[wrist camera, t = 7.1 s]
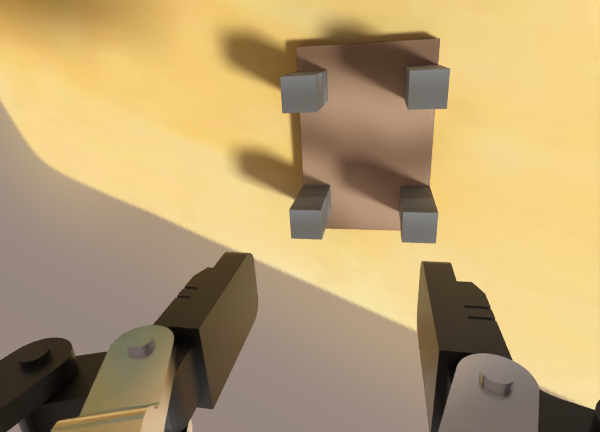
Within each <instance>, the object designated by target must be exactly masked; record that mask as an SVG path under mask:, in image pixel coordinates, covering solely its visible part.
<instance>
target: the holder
mask: <svg viewBox="0 0 600 432" xmlns="http://www.w3.org/2000/svg"><path fill="white" fill-rule="evenodd" d="M439 47H440V38H438V39H422V40H405V41H389V42H372V43H356V44H340V45H323V46H307V47H296V53H297V72H294V73H291V74H287V75H284V76H281V77H280V84H281V98H282V112H283V113H300V127H301V145H302V164H303V182H304V185H303V187H302V189H301V191H300V192H299V194H298V196H297V198H296V199H295V201H294V203H293V204H292V206H291V208H290V210H289V212H290V226H291V238H294V239H322V237H323V234H324V231H325V228H329V229H364V230H398V231H401V238H402V242H411V243H436V233H437V221H438V211H437V208H436V205H435V201H434V198H433V195H432V192H431V189H430V173H431V159H432V145H433V131H434V117H435V109H447V99H448V87H449V75H450V69H449V68H446V67H444V66H441V65H438V61H439Z"/></svg>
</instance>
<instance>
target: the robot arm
mask: <svg viewBox="0 0 600 432" xmlns="http://www.w3.org/2000/svg"><path fill="white" fill-rule="evenodd" d="M257 309H258V294H257V285H256V275H255V266H254V258H253V255H252V254H251V253H238V252H226V253H224V254H223V256H222V257H221V258H220V260H219V261H218V262H217V264H216V265H215V266H214V267H213V268H206V269H204V270H203V271H201V272H200V273H198V274H196V275H195V276H193V277H192V279H191V280H190V281H189V282H188V283H187V285H186V286H185V289H182V291H181V292H180V293H179V294H178V296H177V298H175V299H174V300H173V301H172V303H171V304H170V305H169V306H168V308H167V309H166V310H165V311H164V312H163V314H162V315H161V316H160V317H159V318H158V320H157V321H156V322H155V323H154V324H153V325H148V326H142V327H139V328H135V329H133V330H130V331H128V332H126V333H124V334H123V335H121V336H120V337H119V338H117V339H116V340H115V341H114V342H113V343H112V344H111V346H110V348H109V349H108V351H107V352H102V353H95V354H87V355H81V356H75V354H74V351H73V348H72V345H71V343H70V342H69V341H68V340H66V339H63V338H46V339H42V340H38V341H35V342H32V343H30V344H27V345H26V346H23V347H21V348H19V349H18V350H16V351H14V352H13V353H11V354H10V355H8V356H6V357H5V358H3V359H2V360H0V432H7V431H8V430H9V429H11V428H12V427H13V426H15V425H16V424H17V423H18V424H19V426H20V429H21V431H22V432H192V430H193V429H192V428H193V427H192V422H191V417H192V415H193V413H194V411H195V409H196V408H197V407H199V408H207V409H213V408H214V406H215V404H216V402H217V400H218V398H219V396H220V394H221V391H222V389H223V387H224V385H225V383H226V381H227V378H228V377H229V374H230V372H231V370H232V368H233V366H234V364H235V362H236V360H237V357H238V355H239V353H240V351H241V349H242V347H243V344H244V342H245V340H246V338H247V336H248V334H249V332H250V330H251V328H252V325H253V323H254V321H255V319H256V315H257ZM417 332H418V341H419V349H420V357H421V365H422V373H423V382H424V390H425V398H426V407H427V415H428V423H429V431H430V432H600V400H599V401H598V403H597V405H596V408H595V410H593V409H590V408H587V407H584V406H581V405H578V404H575V403H571V402H568V401H565V400H562V399H559V398H557V397H554V396H552V395H549V394H547V393H545V392H543V391H542V390H540V389H539V387H538V384H537V382H536V380H535V379H534V377H533V376H532V375H531V374H530V373H529V372H528V371H527V370H526V369H525V368H524V367H522V366H521V365H519V364H518V363H516V362H514V361H513V360H512V358H511V355H510V353H509V351H508V348H507V346H506V343H505V341H504V338H503V336H502V334H501V331H500V329H499V326H498V324H497V322H496V321H495V317H494V314H493V312H492V310H491V309H490V305H489V302H488V300H487V297H486V295H485V293H484V292H482V291H481V290H480V289H479V288H478V287H477V286H476V285H474V284H473V283H472V282H459V281H456V278H455V275H454V271H453V268H452V265H451V263H448V262H427V261H422V262H421V268H420V281H419V294H418V308H417Z"/></svg>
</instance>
